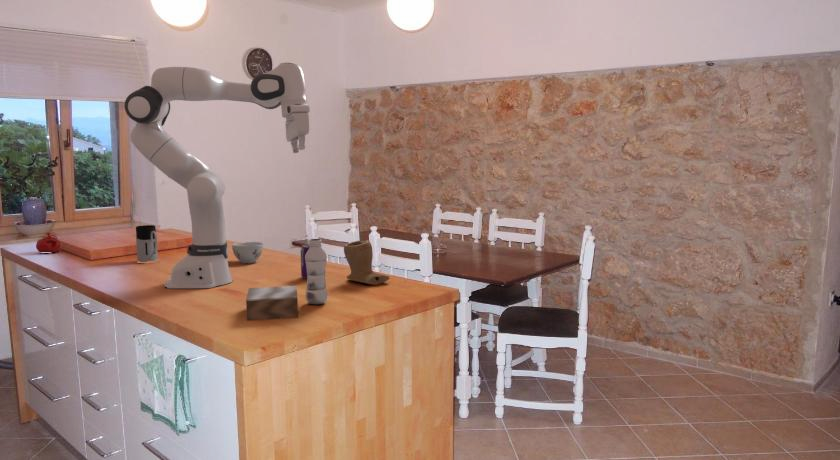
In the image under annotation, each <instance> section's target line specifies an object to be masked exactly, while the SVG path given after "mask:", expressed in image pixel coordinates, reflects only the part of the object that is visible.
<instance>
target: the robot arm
mask: <svg viewBox="0 0 840 460" xmlns="http://www.w3.org/2000/svg"><path fill="white" fill-rule="evenodd" d="M304 76H305V75H304V72H303V69H302V67H300V66H299V65H298V64H297V63H296V64H295V63H292V62H281V63H279V64H278V65H277V66H276V67H275V68H273V69H272V70H269V71H267V72H265V73H260V74H257V75H256V76H255V77H254V78H253V79H252V81H251V82H250V83H242V82H232V81H227V80H225V79H222V78H220V77H218V76H216V75H215V74H214V73H212V72H210V71H209V70H206V69H202V68H197V67H189V66H168V67H166V66H165V67H159V68H156V69H155V70H154V72H153V73H152V75H151V79H150V80H151V81H150V85H144V86H142V87H141V88H139V89H137V90H134V91H132V92H131V93H130V94H129V95H128V96H127V97H126V99H125V100H124V105H123V107H124V111H125V114H126V115H127V116H128V117H129V119H131V120H132V121H134V122H136V123H135V125H134V127H132V129H131V132H130V134H129V139H130V141H131V143H132V145H133V146H134V147H135V148H136V149H137V150H138V152H139V153H140V154H141V155H142V156H144V158H146V159H147V160H148V161H149V162H150V163H151V164H152V165H154V166H155V168H157V169H158V170H159V171H161V172H162V173H163V174H164V175H165V176H167V178H169V179H170V180H172V181H174V182H175V183H176V184H178V185H180V186H181V187H183V188H184V189H185V190H186V193H187V201H188V209H189V216H190V220H191V233H192V235H191V236H192V237H191V238H192V243H188V244H187V245H186V253H187V255H186V256H185V257H183V258H182V259H181V260H180V261H178V262H177V263H176V264H175V265H173V267H172V270H171V274H170V278H169V279H167V280H165V282H164V288H165V287H167V288H166V289H210V288H215V287H217V286H223V285H226V284H227V285H228V284H230V283H232V282H233V278H232V275H231V272H230V268H229V262H228V261H229V260H228V257H229V249H228V248H229V247H228V242H227V240H226V220H225V215H224V206H223V198H222V197H223V195H224V194H225V191H226V185H225V182H224V180H223V178H222V177H221V176H220V175H219V174H218V173H216V171H214V170H213V169H212V168H211V167H209V166H208V165H207V164H205V163H204V162H203V161H201V160H200V159H199V158H197V157H196V156H195V155H194V154H192V153H191V152H190V151H189V150H187V149H186V148H185V147H184V146H183V145H182V144H181V143H180V142H178V141H177V140H176V139H175V138H174V137H173V136H171V134H169V133H168V132H167V131H166V130H165V129H164V128H163V126H164V125H165V122H166V120H167V118H168V116H169V114H170V112H171V102H172V101H184V102H186V101H188V102H205V101H206V102H207V101H208V102H209V101H234V102H242V103H243V102H244V103H253V104H256V105H258V106H259V107H261V108H263V109H267V110H274V109H277V108H279V107H280V106H281V117H282V118H284V119H286V120H285V136H286V137H285V138H286V141H287V142H290V145H291V148H292V153H293V154H298V153H299V151H303V150H305V149H306V145H305V143H306V136H307V135H308V134H309V132H310V115H309V113H310V112H311V111H310V110H311V108H310V106H309V105H308V100H307V98H306V81H305V77H304Z"/></svg>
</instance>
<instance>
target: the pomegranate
mask: <svg viewBox="0 0 840 460" xmlns="http://www.w3.org/2000/svg"><path fill="white" fill-rule="evenodd" d="M46 234H47V236H46V235H43V236H42V235H41V236H40V237H38V240H37V242H36V245H35V247H36V250H37V251H38V253H40V252H56V251H59V250H60V251H61V249H60V243H61V241H60V240H59V238H58V237H57V236H56V235H53V234H52V235H51V232H47V233H46ZM40 238H41V239H40ZM57 239H58V240H59V241H60V242H59V241H58V240H57ZM60 251H59V252H60ZM56 253H57V252H56Z"/></svg>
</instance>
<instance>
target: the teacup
mask: <svg viewBox="0 0 840 460" xmlns="http://www.w3.org/2000/svg"><path fill="white" fill-rule="evenodd" d="M231 248H232V251H233V252H232V253H233V254H234V257H235V258H236V259H237V260H238V261H240V263H241V264H244V263H248V264H254V263H256V261H258V260H259V258H260V256H261V255H262V252H263V248H264V243H263V242H259V241H248V242H247V241H246V242H235V243H232V244H231Z"/></svg>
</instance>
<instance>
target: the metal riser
mask: <svg viewBox="0 0 840 460" xmlns="http://www.w3.org/2000/svg"><path fill="white" fill-rule="evenodd" d="M298 299H299V298H298V289H297V285H282V286H267V287H265V286H264V287H248V290H247V294H246V299H245V302H246V303H245V304H246V305H245V306H246V321H262V320H263V321H264V320H276V319H277V320H278V319H292V318H299V304H298V303H299V301H298Z"/></svg>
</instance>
